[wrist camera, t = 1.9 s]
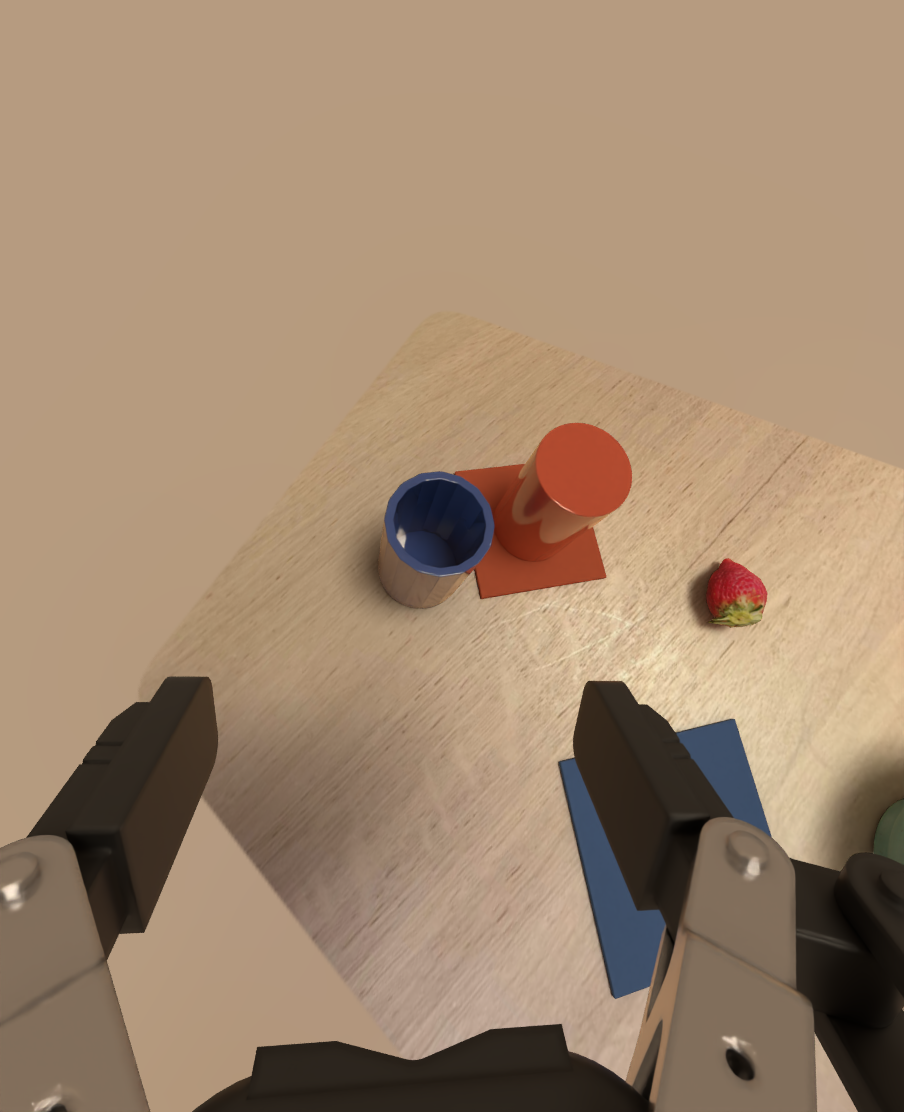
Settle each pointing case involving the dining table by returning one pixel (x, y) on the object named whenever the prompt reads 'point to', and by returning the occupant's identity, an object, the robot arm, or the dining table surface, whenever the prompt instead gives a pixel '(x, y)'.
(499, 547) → the red mat
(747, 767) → the blue mat
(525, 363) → the dining table surface
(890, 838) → the flower pot
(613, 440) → the tall red cylinder
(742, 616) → the fruit
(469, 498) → the blue cup
